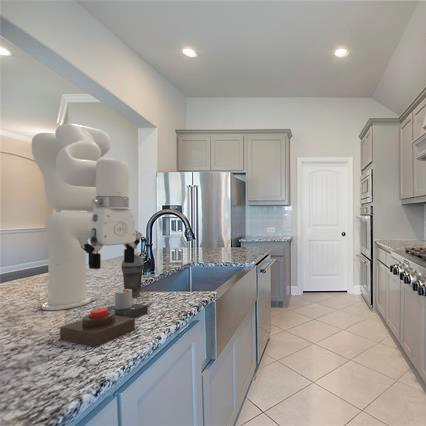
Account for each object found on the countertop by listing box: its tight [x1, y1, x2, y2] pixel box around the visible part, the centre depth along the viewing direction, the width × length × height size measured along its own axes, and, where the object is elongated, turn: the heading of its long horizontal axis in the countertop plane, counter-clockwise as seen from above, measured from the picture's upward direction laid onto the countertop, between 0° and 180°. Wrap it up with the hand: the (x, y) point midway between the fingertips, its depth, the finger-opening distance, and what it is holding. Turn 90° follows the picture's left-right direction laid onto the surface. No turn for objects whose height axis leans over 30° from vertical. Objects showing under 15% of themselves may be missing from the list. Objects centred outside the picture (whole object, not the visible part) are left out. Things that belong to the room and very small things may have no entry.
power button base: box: [59, 311, 136, 348], centre depth 72 cm, size 12×10×5 cm
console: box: [106, 302, 149, 319], centre depth 86 cm, size 10×8×3 cm
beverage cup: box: [120, 254, 145, 299], centre depth 106 cm, size 7×7×20 cm
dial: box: [114, 288, 133, 310], centre depth 86 cm, size 4×4×5 cm
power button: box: [89, 307, 108, 318], centre depth 72 cm, size 4×4×2 cm
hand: (113, 265), depth 78 cm, fingers open, 9 cm apart
